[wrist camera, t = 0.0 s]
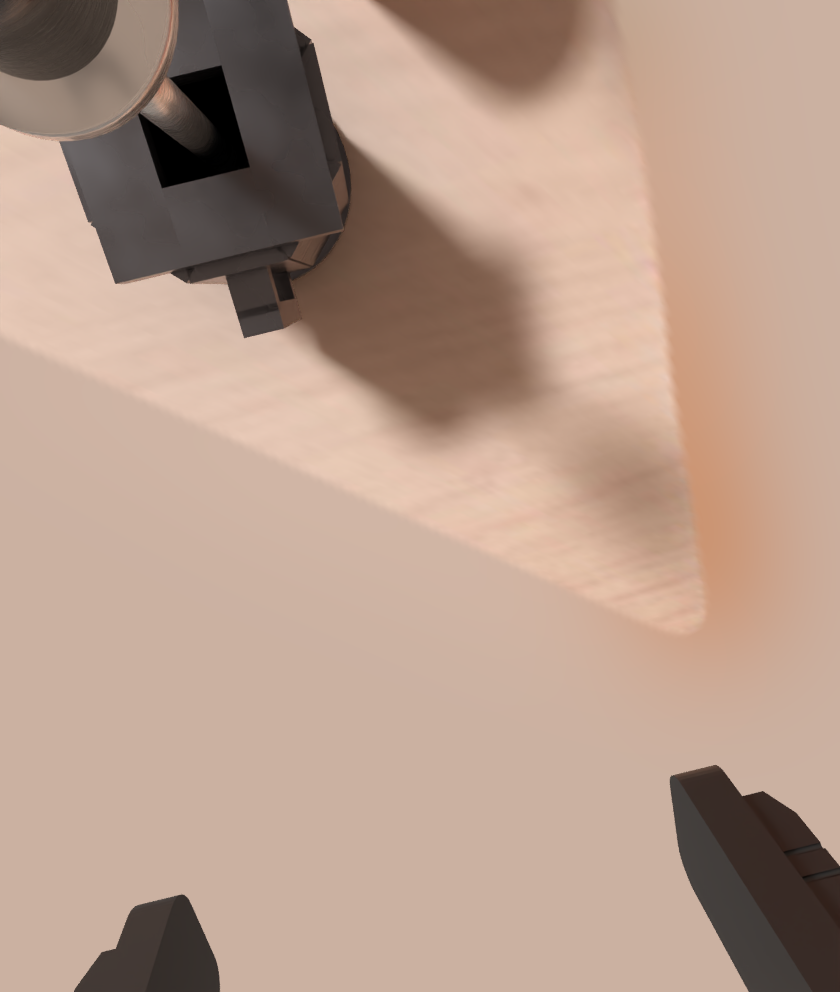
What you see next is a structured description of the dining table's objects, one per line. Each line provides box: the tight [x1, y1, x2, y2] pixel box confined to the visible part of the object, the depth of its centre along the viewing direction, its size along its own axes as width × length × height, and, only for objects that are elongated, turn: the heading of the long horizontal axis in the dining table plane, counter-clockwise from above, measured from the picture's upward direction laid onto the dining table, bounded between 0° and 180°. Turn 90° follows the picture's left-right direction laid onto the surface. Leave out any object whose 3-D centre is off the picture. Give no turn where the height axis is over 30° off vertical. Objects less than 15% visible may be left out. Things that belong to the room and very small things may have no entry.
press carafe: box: [59, 0, 351, 338], centre depth 28 cm, size 12×10×13 cm
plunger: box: [0, 0, 237, 172], centre depth 16 cm, size 5×5×21 cm
